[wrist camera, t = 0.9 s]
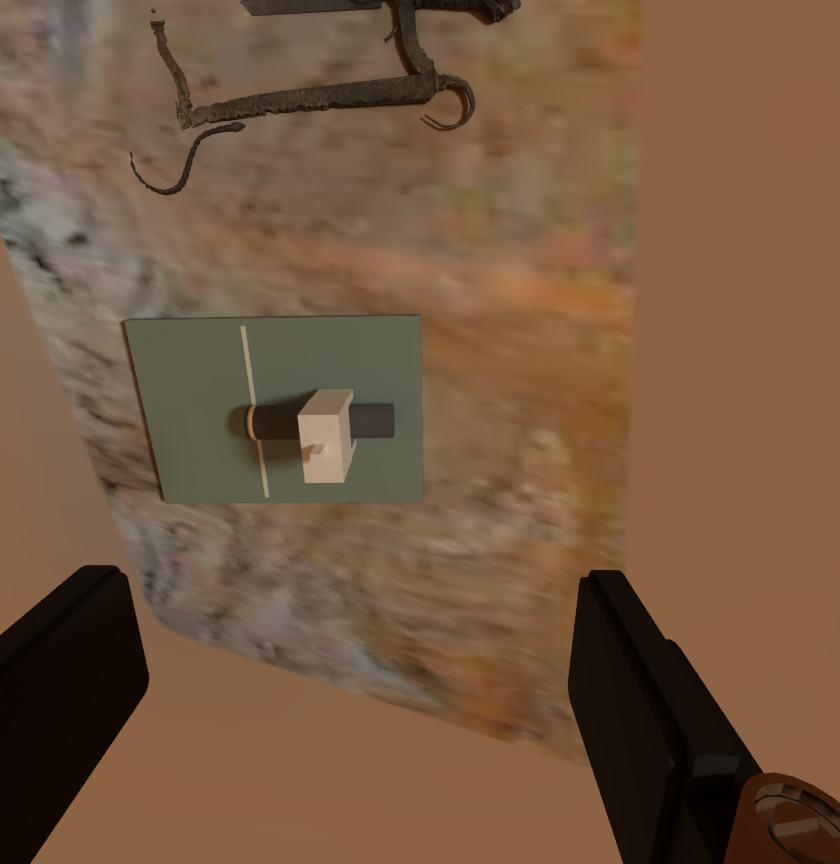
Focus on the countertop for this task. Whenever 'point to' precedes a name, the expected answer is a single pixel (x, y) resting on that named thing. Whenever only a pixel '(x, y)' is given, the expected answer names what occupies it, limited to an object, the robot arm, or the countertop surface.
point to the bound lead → (284, 424)
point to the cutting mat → (276, 403)
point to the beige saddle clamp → (326, 436)
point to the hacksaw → (365, 93)
